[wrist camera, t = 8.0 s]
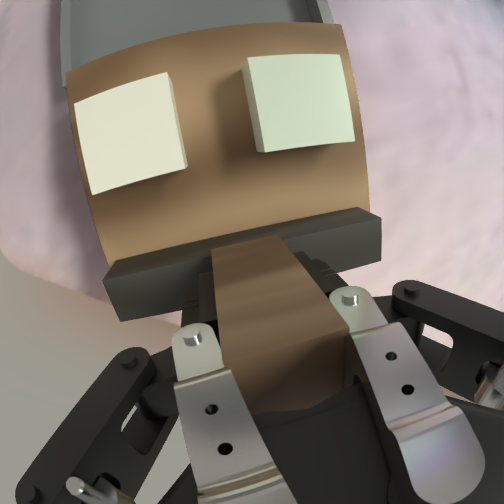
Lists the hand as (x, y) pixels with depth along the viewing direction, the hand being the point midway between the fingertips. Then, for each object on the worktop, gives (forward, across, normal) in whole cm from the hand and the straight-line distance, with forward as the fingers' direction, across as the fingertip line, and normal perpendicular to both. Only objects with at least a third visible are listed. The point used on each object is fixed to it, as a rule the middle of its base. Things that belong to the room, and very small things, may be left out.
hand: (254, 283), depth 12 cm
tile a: (+4, +4, -7) cm, 9 cm away
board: (+9, 0, -5) cm, 10 cm away
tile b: (+4, -4, -7) cm, 9 cm away
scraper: (+4, 0, 0) cm, 4 cm away
